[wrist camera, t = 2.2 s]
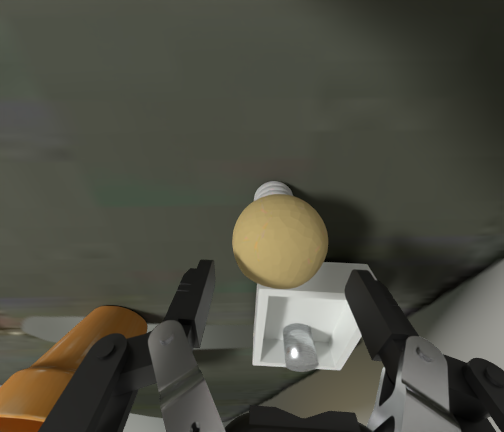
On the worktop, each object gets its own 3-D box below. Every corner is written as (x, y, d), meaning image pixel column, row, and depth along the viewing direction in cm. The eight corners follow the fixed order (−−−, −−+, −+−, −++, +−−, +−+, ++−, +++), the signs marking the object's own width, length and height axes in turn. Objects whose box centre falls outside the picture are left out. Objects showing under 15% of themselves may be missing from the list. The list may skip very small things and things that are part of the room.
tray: (259, 249, 23) (258, 288, 19) (361, 254, 23) (387, 295, 18) (253, 325, 32) (252, 365, 27) (328, 329, 32) (340, 370, 27)
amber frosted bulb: (317, 175, 18) (366, 246, 10) (291, 229, 22) (311, 317, 13) (250, 156, 18) (242, 214, 9) (234, 214, 21) (216, 297, 12)
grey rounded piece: (284, 322, 27) (287, 355, 23) (314, 324, 27) (321, 357, 23) (280, 337, 29) (283, 370, 25) (308, 339, 29) (314, 372, 25)
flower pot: (70, 327, 34) (-21, 438, 23) (78, 280, 27) (-45, 405, 16) (151, 350, 38) (105, 457, 26) (175, 313, 31) (127, 436, 20)
